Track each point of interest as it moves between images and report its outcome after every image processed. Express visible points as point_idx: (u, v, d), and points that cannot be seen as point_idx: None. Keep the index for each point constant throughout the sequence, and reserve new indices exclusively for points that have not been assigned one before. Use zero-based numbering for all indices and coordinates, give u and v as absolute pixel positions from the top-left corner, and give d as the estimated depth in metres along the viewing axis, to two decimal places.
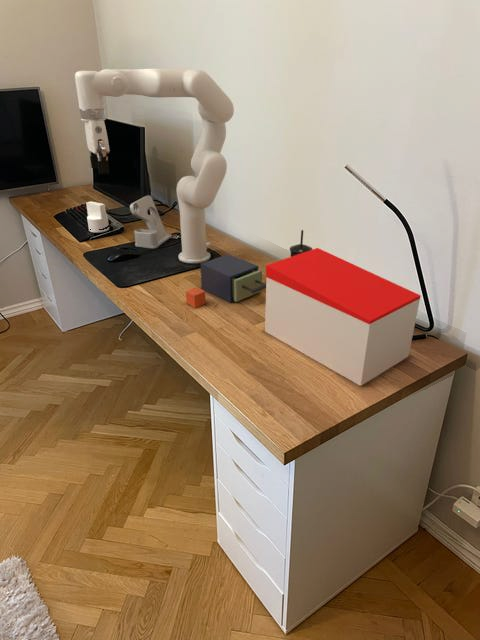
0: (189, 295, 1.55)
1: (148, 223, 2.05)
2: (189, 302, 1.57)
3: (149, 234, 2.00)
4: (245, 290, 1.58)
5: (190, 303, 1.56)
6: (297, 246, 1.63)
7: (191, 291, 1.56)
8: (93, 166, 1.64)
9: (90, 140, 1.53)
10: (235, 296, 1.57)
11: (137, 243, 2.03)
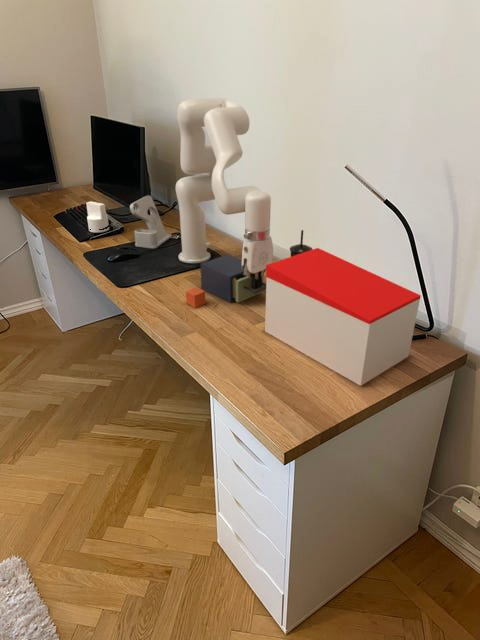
0: (189, 295, 1.55)
1: (148, 223, 2.05)
2: (189, 302, 1.57)
3: (149, 234, 2.00)
4: (247, 291, 1.58)
5: (190, 303, 1.56)
6: (297, 246, 1.63)
7: (191, 291, 1.56)
8: None
9: None
10: (237, 297, 1.56)
11: (137, 243, 2.03)
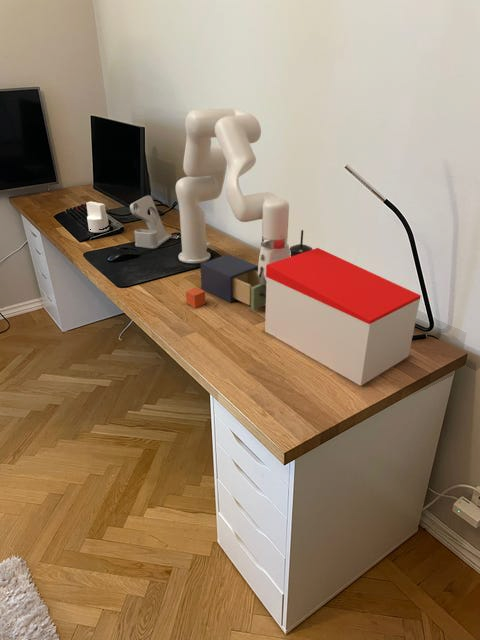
0: (189, 295, 1.55)
1: (148, 223, 2.05)
2: (189, 302, 1.57)
3: (149, 234, 2.00)
4: (262, 298, 1.53)
5: (190, 303, 1.56)
6: (297, 246, 1.63)
7: (191, 291, 1.56)
8: None
9: None
10: (252, 304, 1.52)
11: (137, 243, 2.03)
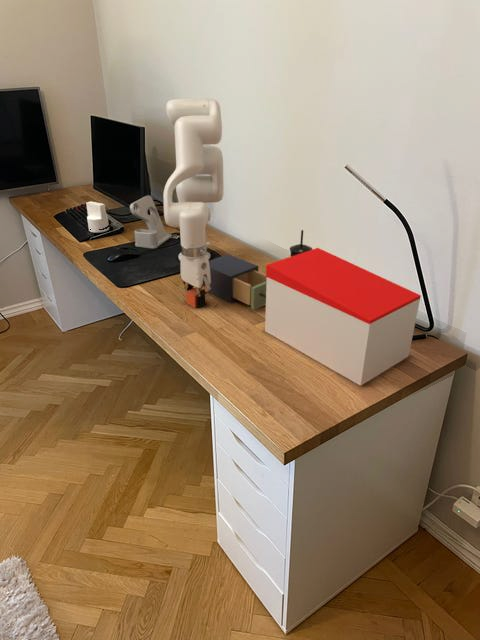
0: (189, 295, 1.55)
1: (148, 223, 2.05)
2: (189, 302, 1.57)
3: (149, 234, 2.00)
4: (262, 298, 1.53)
5: (190, 303, 1.56)
6: (297, 246, 1.63)
7: (191, 291, 1.56)
8: None
9: (193, 275, 1.50)
10: (252, 304, 1.52)
11: (137, 243, 2.03)
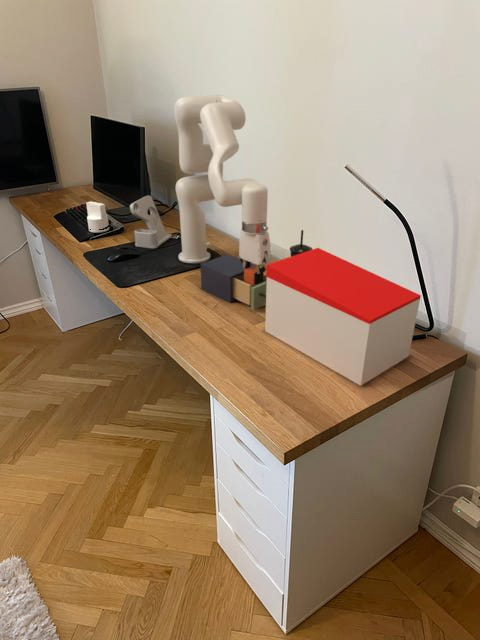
0: (247, 273, 1.54)
1: (148, 223, 2.05)
2: (247, 280, 1.55)
3: (149, 234, 2.00)
4: (262, 298, 1.53)
5: (248, 281, 1.55)
6: (297, 246, 1.63)
7: (249, 269, 1.55)
8: None
9: (253, 252, 1.48)
10: (252, 304, 1.52)
11: (137, 243, 2.03)
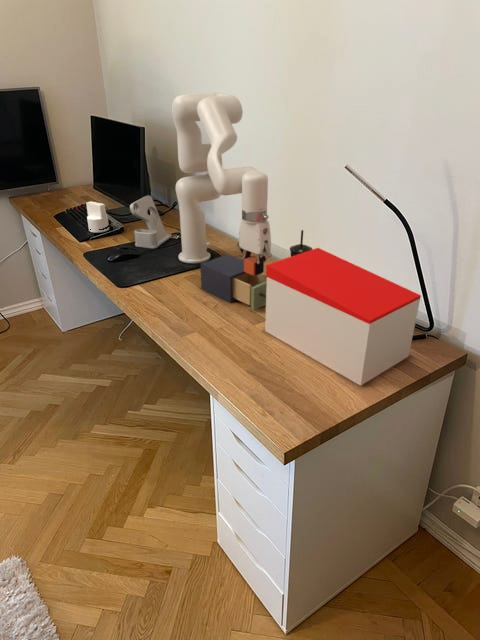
0: (247, 263, 1.52)
1: (148, 223, 2.05)
2: (247, 270, 1.54)
3: (149, 234, 2.00)
4: (262, 298, 1.53)
5: (248, 271, 1.53)
6: (297, 246, 1.63)
7: (249, 258, 1.53)
8: None
9: (253, 241, 1.47)
10: (252, 304, 1.52)
11: (137, 243, 2.03)
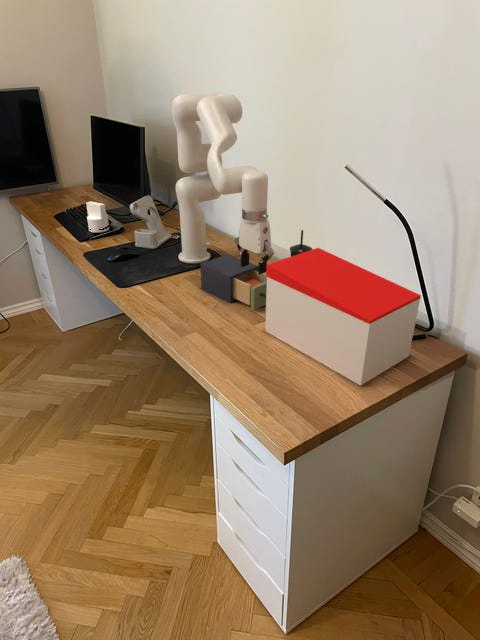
0: None
1: (148, 223, 2.05)
2: None
3: (149, 234, 2.00)
4: (262, 298, 1.53)
5: None
6: (297, 246, 1.63)
7: (249, 282, 1.57)
8: (243, 265, 1.56)
9: (253, 240, 1.47)
10: (252, 304, 1.52)
11: (137, 243, 2.03)
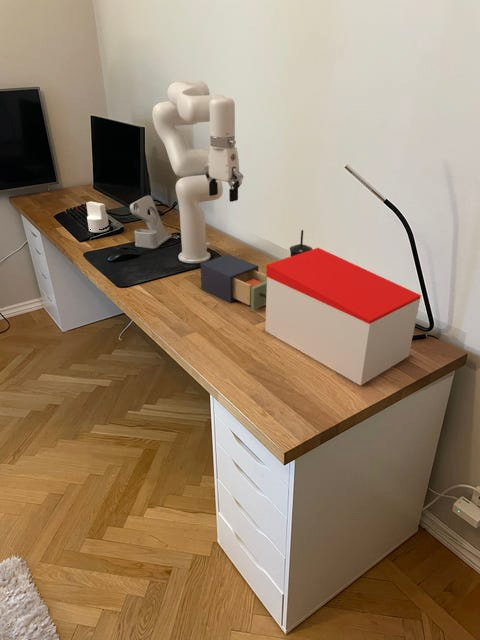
0: None
1: (148, 223, 2.05)
2: None
3: (149, 234, 2.00)
4: (262, 298, 1.53)
5: None
6: (297, 246, 1.63)
7: (249, 282, 1.57)
8: (211, 193, 1.59)
9: (222, 168, 1.50)
10: (252, 304, 1.52)
11: (137, 243, 2.03)
